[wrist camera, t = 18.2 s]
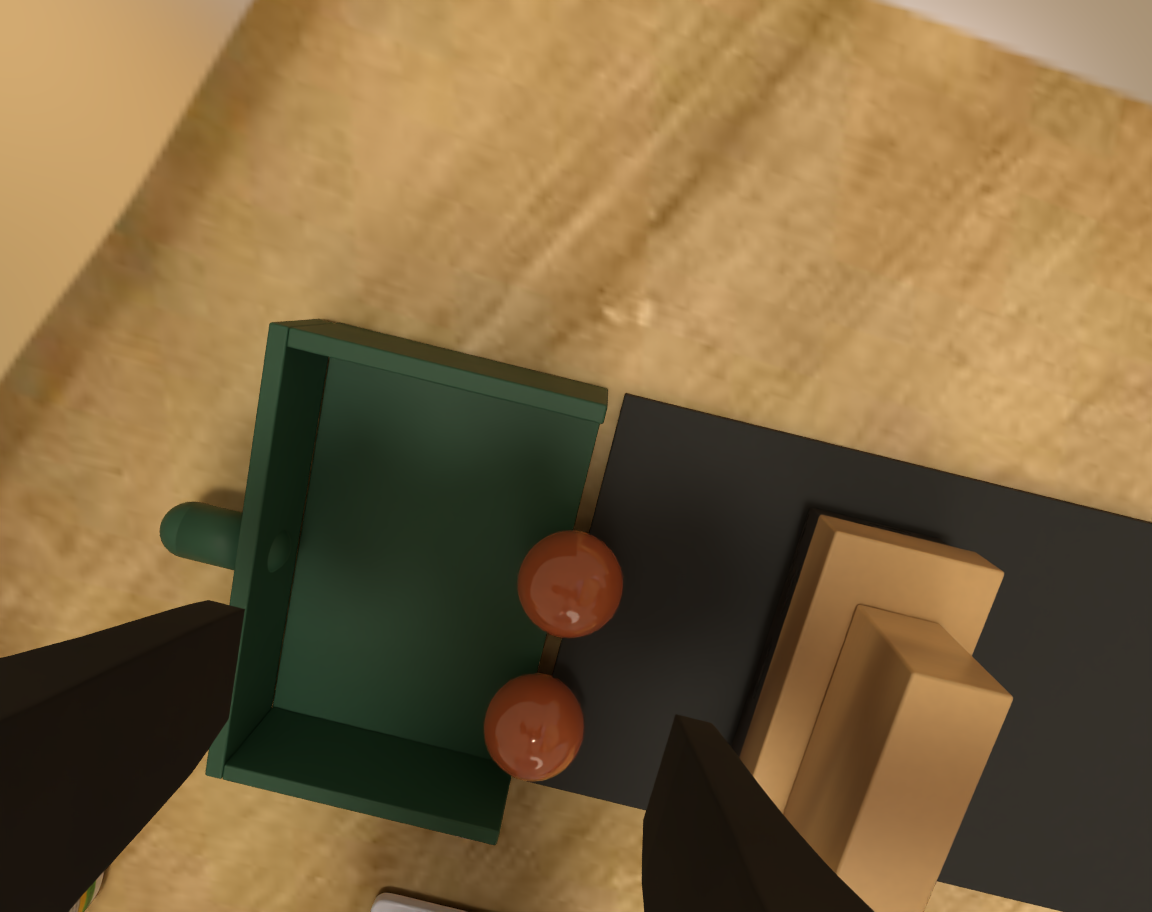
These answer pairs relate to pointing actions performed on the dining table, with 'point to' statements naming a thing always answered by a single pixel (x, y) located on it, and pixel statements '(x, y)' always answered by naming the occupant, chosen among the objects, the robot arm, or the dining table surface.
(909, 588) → the brush
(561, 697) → the red-brown glossy ball
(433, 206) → the dining table surface
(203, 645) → the robot arm
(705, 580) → the mat
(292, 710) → the dustpan
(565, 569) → the orange glossy ball
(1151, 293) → the dining table surface
